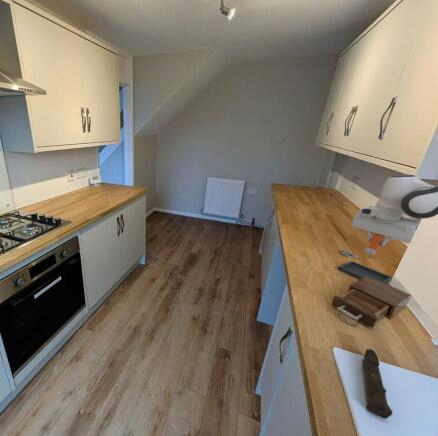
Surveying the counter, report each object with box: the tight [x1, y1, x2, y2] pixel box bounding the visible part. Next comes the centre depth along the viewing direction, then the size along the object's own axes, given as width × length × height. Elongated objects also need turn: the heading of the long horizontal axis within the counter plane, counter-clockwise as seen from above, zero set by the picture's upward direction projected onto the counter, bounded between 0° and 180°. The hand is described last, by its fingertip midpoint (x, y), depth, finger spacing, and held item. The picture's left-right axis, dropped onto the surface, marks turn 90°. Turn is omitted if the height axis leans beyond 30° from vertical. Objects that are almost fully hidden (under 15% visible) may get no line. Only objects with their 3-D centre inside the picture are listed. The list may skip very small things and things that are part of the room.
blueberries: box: [340, 249, 359, 259], centre depth 126 cm, size 7×8×2 cm
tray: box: [337, 260, 392, 284], centre depth 109 cm, size 15×12×2 cm
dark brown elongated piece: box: [362, 348, 393, 419], centre depth 61 cm, size 19×4×5 cm, turn 142°
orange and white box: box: [364, 233, 386, 256], centre depth 102 cm, size 3×6×8 cm, turn 117°
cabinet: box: [346, 276, 412, 320], centre depth 91 cm, size 14×14×6 cm
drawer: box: [330, 289, 390, 329], centre depth 85 cm, size 17×12×4 cm
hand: (375, 243), depth 103 cm, fingers closed on orange and white box, 2 cm apart
